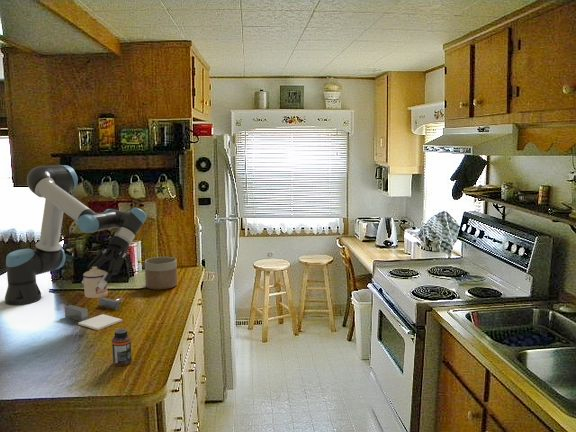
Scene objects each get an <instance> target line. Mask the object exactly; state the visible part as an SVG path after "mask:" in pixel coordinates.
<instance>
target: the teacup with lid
mask: <svg viewBox="0 0 576 432" xmlns="http://www.w3.org/2000/svg"><path fill="white" fill-rule="evenodd" d="M106 272H107V270H103V269H101V268H98V269H97V267H96V266H94V267H92V269H91V270H87V271H85V272H84V273H83V274H82V277H83V279H84V284H83V290H84V291H83V292H84V297H86V298H90V299H95V298H102V297H105V296H107V295H108V283H107V284H106V285H105V287H104V288H103V290H101V289H100V288H99V287H98V286H97V285H98V284H99V282H100V281H101V279H102V277H103V276H104V274H105V273H106Z"/></svg>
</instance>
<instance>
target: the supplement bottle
mask: <svg viewBox="0 0 576 432" xmlns="http://www.w3.org/2000/svg"><path fill="white" fill-rule="evenodd" d="M131 339H132V338H131V336H130V335H129V334H128V329H126V328H119V329H118V328H117V329H115V330H114V336H113V337H112V339H111V343H112V344H111V347H112V348H111V349H112V361H113V365H115V366H116V367H117V366H118V367H125V366H127V365H130V363H131V362H132V359H133V358H132V342H131V341H132V340H131Z"/></svg>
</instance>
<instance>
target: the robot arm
mask: <svg viewBox="0 0 576 432" xmlns="http://www.w3.org/2000/svg"><path fill="white" fill-rule="evenodd" d="M78 181H79V178H78V175H77V173H76V171H75V169H74V168H73V167H71V166H69V165H67V164H66V165H65V164H64V165H63V164H56V165H55V164H54V165H39V166H36V167H34V168H32V169H31V170H30V171H29V172H28V174H27V177H26V184H27V187H28V189H29V190H30V192H31V193H33V194H34V195H36V196H37V197H39V198H44V200H45V202H44V208H43V216H42V223H41V228H40V236H39V241H37V242H36V243H35V245H34V246H35V247H34V249H32V248H22V249H17V250H13V251H11V252H10V253H7V255H6V258H5V266H6V276H7V277H6V278H7V289H6V292H5V296H4V303H5V304H6V305H11V306H12V305H13V306H19V305H28V304H32V303H36V302H38V301H40V300H41V299H42V292H41V290H40V288H39V285H38V283H37V278H36V277H37V276H38V275H42V274H44V273H49V272H54V271H56V270H58V269H61V268H62V267H63V266H64V264H65V262H66V253H65V250H64V249H63V247H62V244H61V243H60V239H61V238H60V237H61V233H62V226H63V221H64V219H63V218H64V213H65V215H67V216H68V217H70V218H71V219H72V220H74V221H75V222H76V223H77V228H79V231H80V232H82V233H84V234H88V233H90V234H92V233H95V232H99V231H104V230H105V231H106V230H110V229H117V228H118V229H117V230H116V231H115V233H114V236H112V238H111V239H110V241H109V245H108V246H109V247H107V249H106V248H103V247H101V249H100V250H99V252H98V254H96V256H95V257H94V258H93V259H92V260H91V261H90V262H89V264H88V265H87V268H89V270H91V269H92V267H94V266H96V267H97V269H100V268H102V266H103V265H105V263H106V262H109V266H108V270H106V273H105V274H104V276H103V277H102V279H101V281H100V282H99V284H98V285H97V286H98V287H99V288H100V289H101V290H103V288H104V287H105V285H106V284H107V285H108V283H109V281H110V280H111V278H112V277H113V276H114V275H116V276H117V275H118V274H119V273H120V271H121V267H122V266H123V263H124V261H125V259H126V258H127V257H128V254H127V253H126V252H127V250H128V248H129V247H130V245H131V243H132V242H133V240H134V239H135V237H136V236H137V234H138V233H139V231H140V229H141V228H142V227H143V225H144V224H145V222H146V219H147V218H148V216H147V214H146V212H145V211H144V210H142V209H141V208H138V207H133V208H131V210H130V211H122V210H117V209H115V208H107V209H105V210H104V211H103V212H95V211H94V210H92V209H91V208H89V207H88V206H86V205H85V204H84V203H82V202H81V201H80V200H78V199H77V198H76V197H74V196H73V195H71V190H74V189H75V188H76V187H77V186H78ZM89 270H88V271H89ZM81 283H82V285H84V278H83V279H82V281H81Z"/></svg>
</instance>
